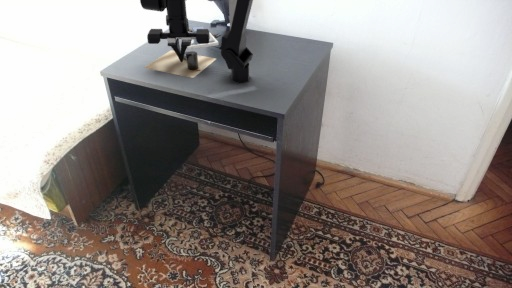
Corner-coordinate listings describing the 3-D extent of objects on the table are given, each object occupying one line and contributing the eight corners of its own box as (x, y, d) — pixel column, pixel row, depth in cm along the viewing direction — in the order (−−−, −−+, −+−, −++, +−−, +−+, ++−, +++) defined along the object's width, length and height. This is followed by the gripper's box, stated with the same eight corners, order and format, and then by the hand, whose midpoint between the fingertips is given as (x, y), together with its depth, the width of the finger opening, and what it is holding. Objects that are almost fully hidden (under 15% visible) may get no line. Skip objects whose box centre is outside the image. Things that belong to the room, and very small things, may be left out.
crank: (179, 55, 126) (177, 41, 122) (191, 53, 127) (190, 39, 124) (187, 70, 116) (186, 56, 113) (200, 68, 117) (199, 54, 114)
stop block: (206, 45, 136) (205, 29, 132) (196, 46, 135) (194, 31, 131) (203, 41, 139) (202, 26, 135) (193, 42, 138) (192, 27, 134)
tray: (218, 48, 135) (218, 42, 133) (189, 53, 131) (188, 46, 130) (210, 38, 143) (209, 32, 142) (182, 42, 140) (181, 35, 138)
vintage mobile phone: (241, 34, 146) (240, -31, 131) (230, 33, 147) (227, -32, 132) (243, 31, 149) (242, -33, 134) (232, 30, 150) (230, -34, 135)
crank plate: (217, 62, 125) (216, 58, 124) (193, 82, 113) (193, 77, 112) (171, 53, 130) (170, 49, 129) (144, 71, 119) (144, 67, 118)
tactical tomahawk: (225, 35, 148) (225, 33, 148) (216, 39, 143) (216, 36, 143) (184, 26, 156) (184, 24, 155) (175, 29, 151) (175, 27, 150)
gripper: (208, 5, 113) (211, 51, 122) (149, 5, 111) (156, 51, 121) (207, 16, 104) (210, 65, 114) (143, 16, 103) (151, 66, 112)
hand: (181, 61), depth 115 cm, fingers closed
